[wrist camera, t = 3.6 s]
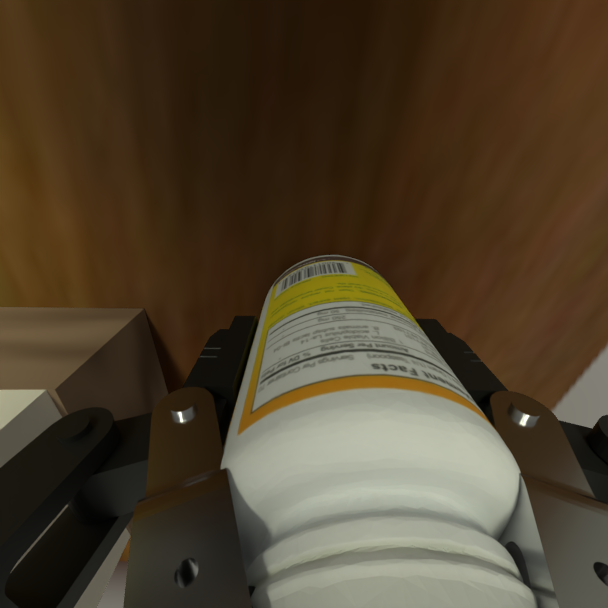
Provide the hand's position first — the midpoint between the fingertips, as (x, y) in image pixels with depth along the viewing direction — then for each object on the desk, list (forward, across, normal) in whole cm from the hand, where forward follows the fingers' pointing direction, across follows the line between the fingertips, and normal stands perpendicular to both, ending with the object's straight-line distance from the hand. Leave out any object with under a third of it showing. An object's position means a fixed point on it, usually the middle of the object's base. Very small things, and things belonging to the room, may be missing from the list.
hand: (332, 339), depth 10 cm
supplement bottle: (+2, 0, 0) cm, 2 cm away
